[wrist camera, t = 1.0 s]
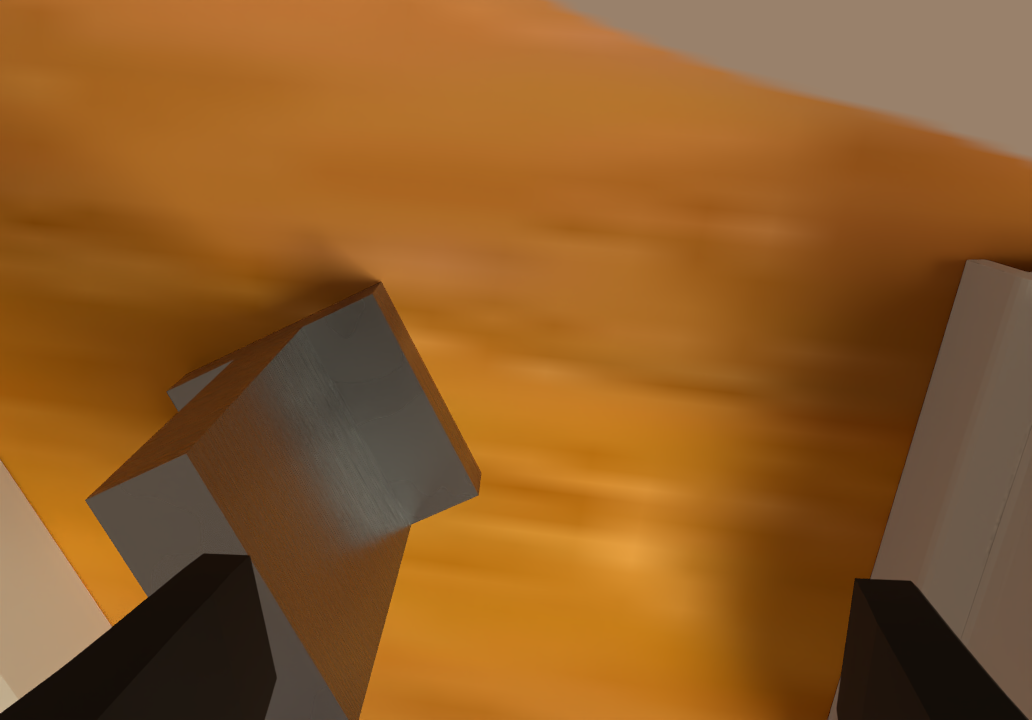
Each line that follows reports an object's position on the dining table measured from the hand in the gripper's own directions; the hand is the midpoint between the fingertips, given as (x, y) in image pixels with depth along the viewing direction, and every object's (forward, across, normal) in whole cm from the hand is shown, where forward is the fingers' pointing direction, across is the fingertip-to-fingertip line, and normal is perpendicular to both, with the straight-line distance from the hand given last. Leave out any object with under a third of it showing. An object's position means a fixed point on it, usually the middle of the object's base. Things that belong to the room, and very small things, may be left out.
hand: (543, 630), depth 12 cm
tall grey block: (+13, +7, +5) cm, 16 cm away
